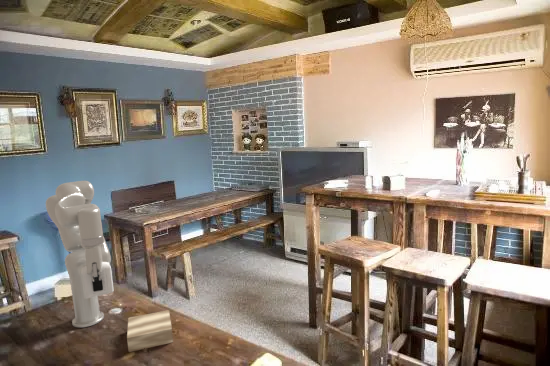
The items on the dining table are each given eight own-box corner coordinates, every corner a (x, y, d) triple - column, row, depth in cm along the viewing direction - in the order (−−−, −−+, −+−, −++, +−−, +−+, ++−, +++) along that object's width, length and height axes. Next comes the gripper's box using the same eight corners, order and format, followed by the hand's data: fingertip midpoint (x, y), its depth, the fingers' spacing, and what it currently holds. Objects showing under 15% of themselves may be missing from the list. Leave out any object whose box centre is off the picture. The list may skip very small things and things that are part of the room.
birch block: (129, 331, 157) (128, 317, 156) (170, 323, 162) (168, 309, 161) (128, 353, 142) (127, 338, 141) (173, 343, 147) (171, 328, 146)
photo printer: (113, 288, 148) (109, 258, 146) (114, 292, 145) (111, 261, 143) (83, 296, 143) (79, 264, 141) (84, 300, 139) (80, 268, 138)
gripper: (82, 236, 147) (88, 281, 150) (79, 249, 132) (86, 299, 134) (104, 233, 150) (109, 277, 153) (103, 245, 134) (109, 294, 137)
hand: (98, 287), depth 144 cm, fingers closed on photo printer, 4 cm apart
